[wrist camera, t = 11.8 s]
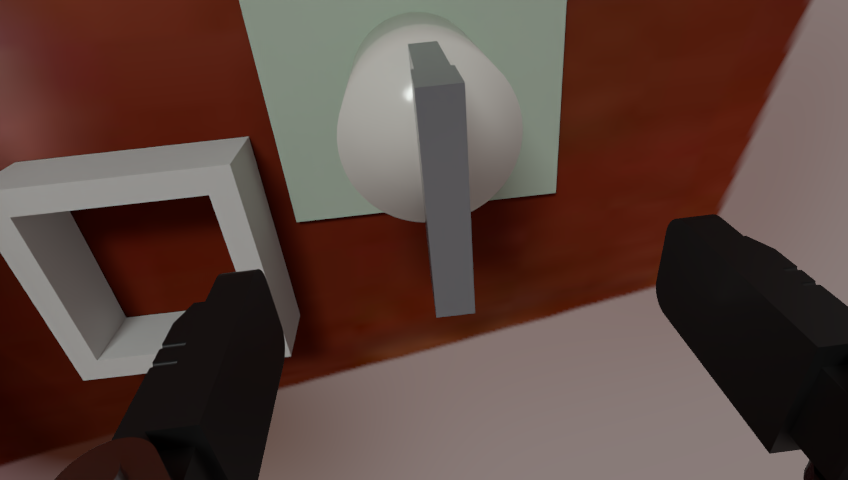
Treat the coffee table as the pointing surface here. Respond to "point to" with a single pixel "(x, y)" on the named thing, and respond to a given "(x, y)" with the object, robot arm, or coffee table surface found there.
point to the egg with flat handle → (430, 138)
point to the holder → (119, 185)
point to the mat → (331, 65)
